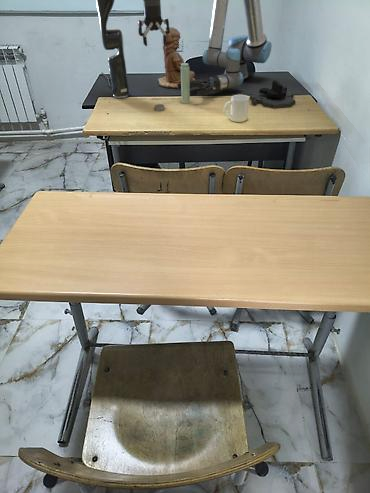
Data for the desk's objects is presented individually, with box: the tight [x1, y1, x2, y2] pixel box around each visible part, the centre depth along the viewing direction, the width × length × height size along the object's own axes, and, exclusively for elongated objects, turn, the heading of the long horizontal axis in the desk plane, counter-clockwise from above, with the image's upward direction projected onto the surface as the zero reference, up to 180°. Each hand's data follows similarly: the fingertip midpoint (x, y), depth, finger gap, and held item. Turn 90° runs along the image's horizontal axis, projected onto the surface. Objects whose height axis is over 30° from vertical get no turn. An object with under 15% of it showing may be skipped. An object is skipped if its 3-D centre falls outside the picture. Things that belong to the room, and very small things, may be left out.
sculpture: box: [157, 26, 196, 89], centre depth 214 cm, size 27×24×30 cm
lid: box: [154, 103, 165, 112], centre depth 188 cm, size 5×5×2 cm
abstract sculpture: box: [249, 79, 296, 109], centre depth 189 cm, size 25×9×20 cm
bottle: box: [180, 62, 191, 105], centre depth 189 cm, size 4×4×19 cm
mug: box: [222, 94, 250, 123], centre depth 170 cm, size 12×8×10 cm
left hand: (155, 45), depth 169 cm, fingers open, 8 cm apart
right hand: (183, 89), depth 191 cm, fingers open, 13 cm apart
